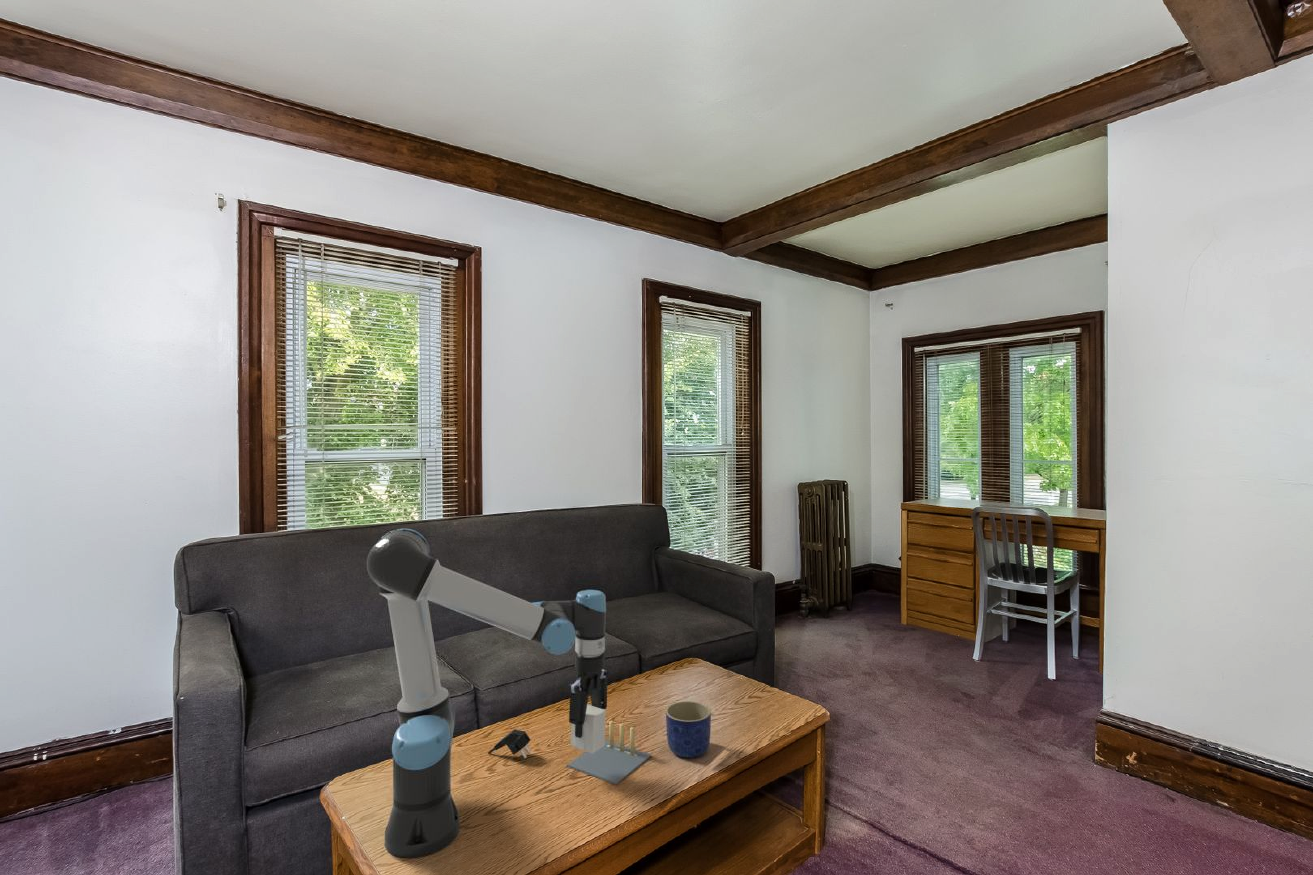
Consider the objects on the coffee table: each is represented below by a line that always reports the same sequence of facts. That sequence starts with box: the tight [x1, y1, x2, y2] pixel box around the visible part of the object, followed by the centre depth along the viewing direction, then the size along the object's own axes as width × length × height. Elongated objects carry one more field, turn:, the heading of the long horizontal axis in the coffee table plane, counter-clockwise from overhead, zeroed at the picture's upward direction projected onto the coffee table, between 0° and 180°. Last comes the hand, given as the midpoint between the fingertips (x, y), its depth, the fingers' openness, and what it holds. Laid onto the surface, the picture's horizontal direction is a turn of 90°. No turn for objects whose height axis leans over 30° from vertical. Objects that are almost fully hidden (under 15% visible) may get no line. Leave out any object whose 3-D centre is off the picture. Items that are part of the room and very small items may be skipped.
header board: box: [566, 720, 652, 785], centre depth 163 cm, size 16×16×7 cm
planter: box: [665, 700, 712, 759], centre depth 168 cm, size 12×12×11 cm
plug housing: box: [570, 703, 607, 754], centre depth 156 cm, size 5×7×9 cm
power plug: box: [487, 728, 532, 759], centre depth 166 cm, size 6×8×12 cm
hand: (587, 743), depth 156 cm, fingers closed on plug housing, 5 cm apart
